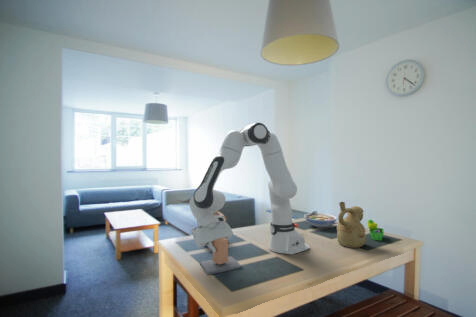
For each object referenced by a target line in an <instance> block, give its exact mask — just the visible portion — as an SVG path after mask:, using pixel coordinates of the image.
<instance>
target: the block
mask: <svg viewBox="0 0 476 317" xmlns="http://www.w3.org/2000/svg"><path fill="white" fill-rule="evenodd" d="M213 246H214V247H216V248H217V250H218V251H217V252H215V253H213V252H212V259H213V262H215V263H217V264H219V265H220V264H223V263H225V262H228V257H229V239H225V238H219V239H216V240H214V241H213Z"/></svg>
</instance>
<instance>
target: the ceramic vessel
mask: <svg viewBox="0 0 476 317" xmlns="http://www.w3.org/2000/svg"><path fill="white" fill-rule="evenodd" d="M338 205H339V209H340V210H339V213H338V216H337V219H338V223H337V225H336V231H337V232H336V237H337V242H338V244H339V245H341V246H343V247H345V248H351V249H358V248H361V247H363V246H364V245H365V244H366V242H367V237H366V228H365V226H364V225H363V224H362V220H363V218H364V209H363V208H362V207H361V206H358V205H357V206H356V205H354V206H352V207H347V208H346V202H345V201H339V202H338ZM345 214H347V215H346V216H345ZM344 216H345V218H344Z"/></svg>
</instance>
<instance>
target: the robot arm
mask: <svg viewBox="0 0 476 317" xmlns="http://www.w3.org/2000/svg"><path fill="white" fill-rule="evenodd" d="M254 146H258V148H259V149H260V151H261V152H260V153H261V156H262V160H263V164H264V167H265V170H266V172H267V174H268V176H269V181H268V182H267V183H268V184H267V187H268V193H269V200H270V207H271V212H270V213H271V214H270V215H271V216H270V217H271V218H270V220H271V222H270V239H269V243H268V247H267V248H268V249H269V251H271V252H273V253H276V254H277V253H279V254H286V255H294V254H297V253H301V252H304V251H307V250H310V246H309V244H307V243H305V242H306V239H305V237H304V236H303V235H302V234H301V233H300V232H298V231H297V230H296V229H295V228H299V224H298V223H294V222H293V209H292V206H291V202H290V200H291V199H293V198H294V197H295V196H296V195H297V192H298V187H297V184H296V182H295V181H294V179H293V177H292V175H291V172H290V170H289V169H288V166H287V163H286V159H285V156H284V152H283V149H282V147H281V143H280V141H279V139H278V137H277V135H276V134H275V133H272V132H270V131H269V129H268V127H267V126H266V125H265V124H264V123H262V122H253V123H250V124H248V125H246V126H245V127H244V128H242V129H241V130H230V131H229V132H227V134H226V136H225V137H224V140H223V141H222V143H221V147H220V149H219V152H218V154H217V155H216V156H215V157H214V158H213V159H212V161H211V162H210V164H209V166H208V168H207V171H206V172H205V174H204V176H203V178H202V181H201V182H200V184H199V185H198V186H197V188H196V189H195V191H194V193H193V196H191V198H190V199H189V209H190V211H191V213H192V216H193V217H194V218H195V220H196V223H197V225H198V226H197V227H196V226H195V227H193V228H192V229H191V235H192V236H193V240H194V241H193V242H194V244H195V246H196V247H197V248H202V247H205V246H207V248H208V249H210V250H211V251H212V254H213V253H215V252H217V251H218V250H217V248H216V247H214V246H213V245H212V244H213V241H214V240H216V239H219V238H225V239H228V240H229V239H231V238H232V237H233V235H234V232H233V230H232V228H231V227H230V225H229V224H228V223H227V219H226V220H225V218H223V217H217V216H214V215H213V213H214V212H217V211H220V210H221V209H223V208H224V207H225V204H226V196H225V195H224V193H223V192H221V191H218V190H216V189H214V187H215V185H216V183H217V181H218V179H219V176H220V174H222V172H223V171H224V170H229V169H233V168H235V167H236V166H237V165H238V163H239V161H240V160H241V156H242V153H243V149H244V148H245V147H254ZM225 221H226V222H225Z"/></svg>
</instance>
